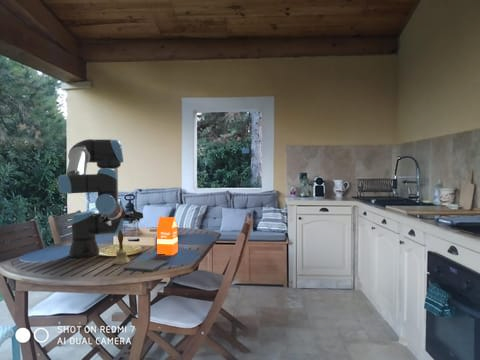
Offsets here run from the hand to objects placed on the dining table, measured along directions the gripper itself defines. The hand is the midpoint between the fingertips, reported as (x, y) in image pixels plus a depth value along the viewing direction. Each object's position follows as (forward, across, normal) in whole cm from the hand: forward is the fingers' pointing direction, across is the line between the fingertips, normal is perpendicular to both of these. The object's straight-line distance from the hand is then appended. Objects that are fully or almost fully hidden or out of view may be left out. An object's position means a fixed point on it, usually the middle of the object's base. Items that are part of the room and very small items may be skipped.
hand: (124, 221), depth 176 cm
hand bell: (+11, -4, -18) cm, 22 cm away
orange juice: (+25, +17, -15) cm, 34 cm away
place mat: (+2, +9, -22) cm, 24 cm away
